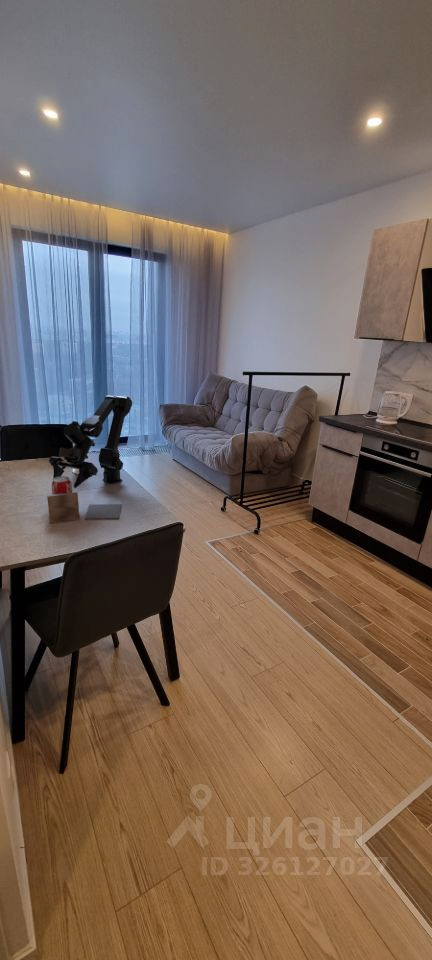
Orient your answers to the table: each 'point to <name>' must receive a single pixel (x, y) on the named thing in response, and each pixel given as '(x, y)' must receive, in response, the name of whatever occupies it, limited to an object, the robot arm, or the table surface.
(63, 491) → the soda can
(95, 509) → the charcoal mat
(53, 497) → the walnut screen
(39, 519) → the table surface
